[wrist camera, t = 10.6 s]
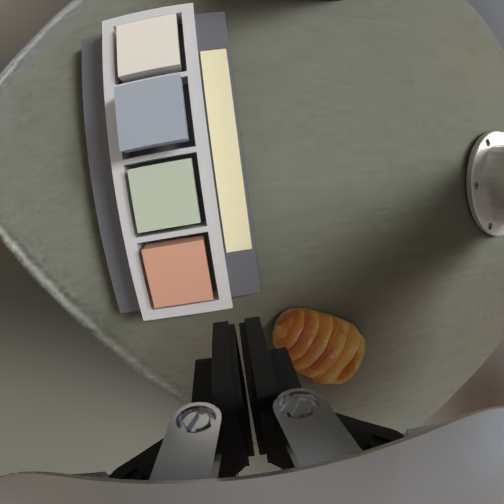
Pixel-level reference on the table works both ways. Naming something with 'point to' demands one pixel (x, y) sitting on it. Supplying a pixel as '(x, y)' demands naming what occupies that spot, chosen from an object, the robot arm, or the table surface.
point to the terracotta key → (178, 271)
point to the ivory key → (148, 48)
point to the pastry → (320, 344)
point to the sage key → (164, 195)
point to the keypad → (198, 148)
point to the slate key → (150, 113)
